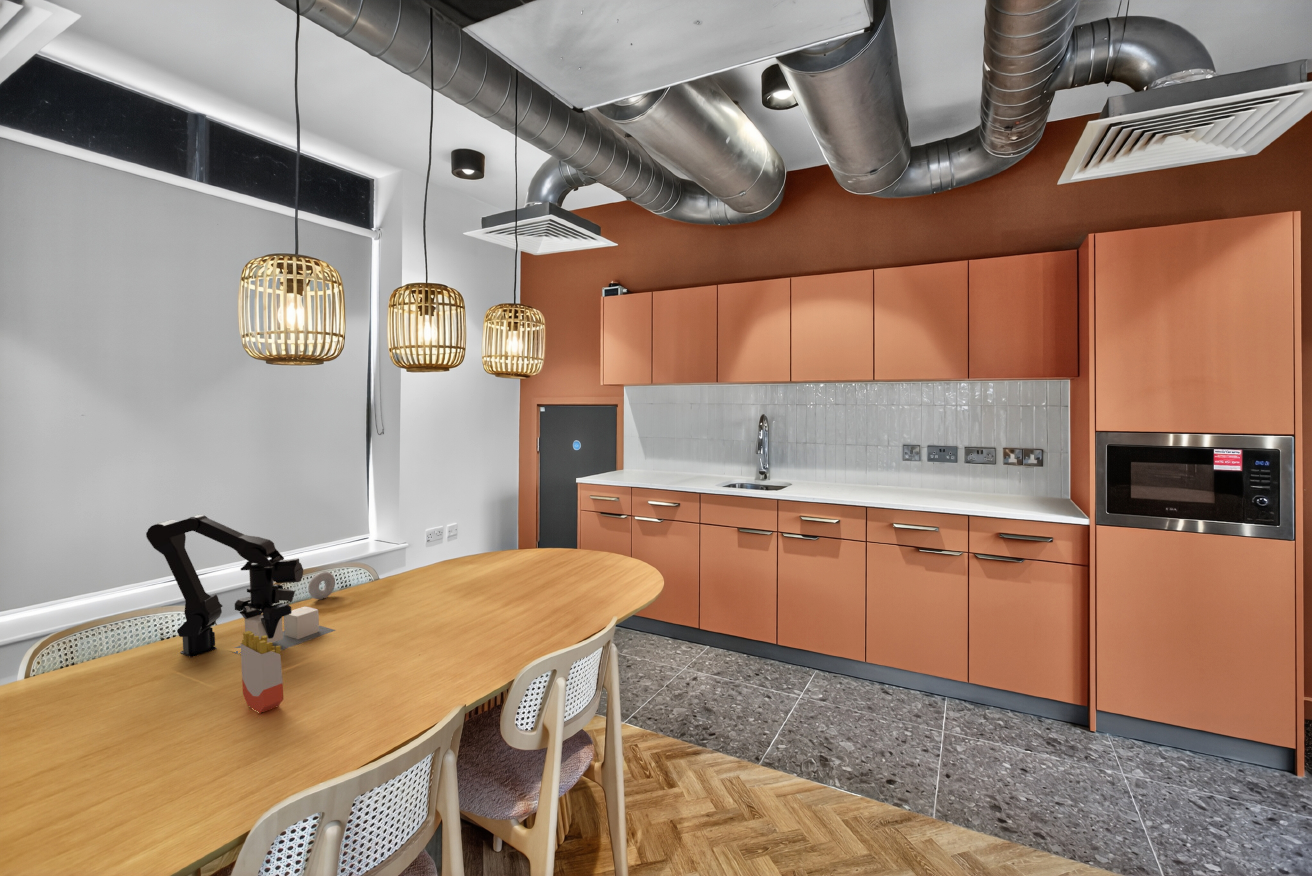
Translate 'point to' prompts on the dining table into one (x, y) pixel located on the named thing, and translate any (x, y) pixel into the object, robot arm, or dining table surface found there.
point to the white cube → (262, 628)
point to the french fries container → (261, 672)
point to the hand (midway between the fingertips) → (264, 635)
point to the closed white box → (301, 622)
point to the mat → (290, 641)
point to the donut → (315, 583)
